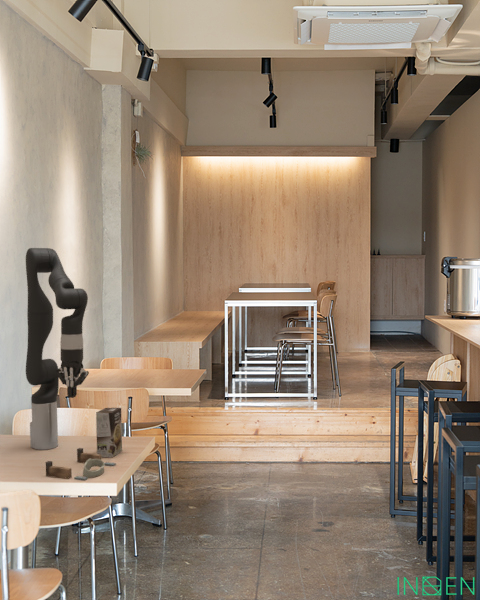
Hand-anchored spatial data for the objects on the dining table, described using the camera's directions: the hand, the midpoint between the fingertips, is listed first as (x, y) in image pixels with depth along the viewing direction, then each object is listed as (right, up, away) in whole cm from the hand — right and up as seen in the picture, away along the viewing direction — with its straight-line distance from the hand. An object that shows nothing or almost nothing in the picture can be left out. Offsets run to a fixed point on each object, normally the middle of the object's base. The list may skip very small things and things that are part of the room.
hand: (72, 397), depth 221 cm
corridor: (+2, -23, -5) cm, 24 cm away
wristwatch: (+10, -24, -10) cm, 28 cm away
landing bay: (+10, -23, -8) cm, 27 cm away
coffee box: (+10, -23, +13) cm, 28 cm away
